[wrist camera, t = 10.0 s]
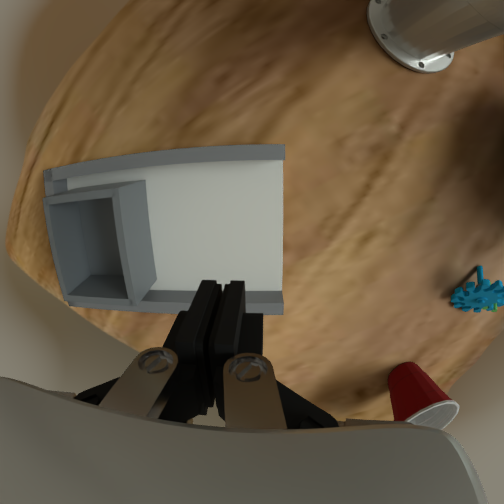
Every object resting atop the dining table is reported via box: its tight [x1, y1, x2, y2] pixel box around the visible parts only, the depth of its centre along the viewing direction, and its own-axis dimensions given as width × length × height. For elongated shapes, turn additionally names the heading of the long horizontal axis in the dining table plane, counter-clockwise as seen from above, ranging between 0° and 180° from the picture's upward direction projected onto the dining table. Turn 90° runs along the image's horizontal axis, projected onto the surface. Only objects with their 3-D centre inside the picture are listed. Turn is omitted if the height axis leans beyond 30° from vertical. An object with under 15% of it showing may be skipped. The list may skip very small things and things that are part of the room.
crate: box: [43, 180, 157, 306], centre depth 29 cm, size 12×10×7 cm
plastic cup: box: [388, 362, 459, 430], centre depth 34 cm, size 11×11×12 cm
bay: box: [43, 144, 285, 315], centre depth 31 cm, size 18×28×4 cm, turn 91°
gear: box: [451, 266, 504, 312], centre depth 32 cm, size 11×6×10 cm
